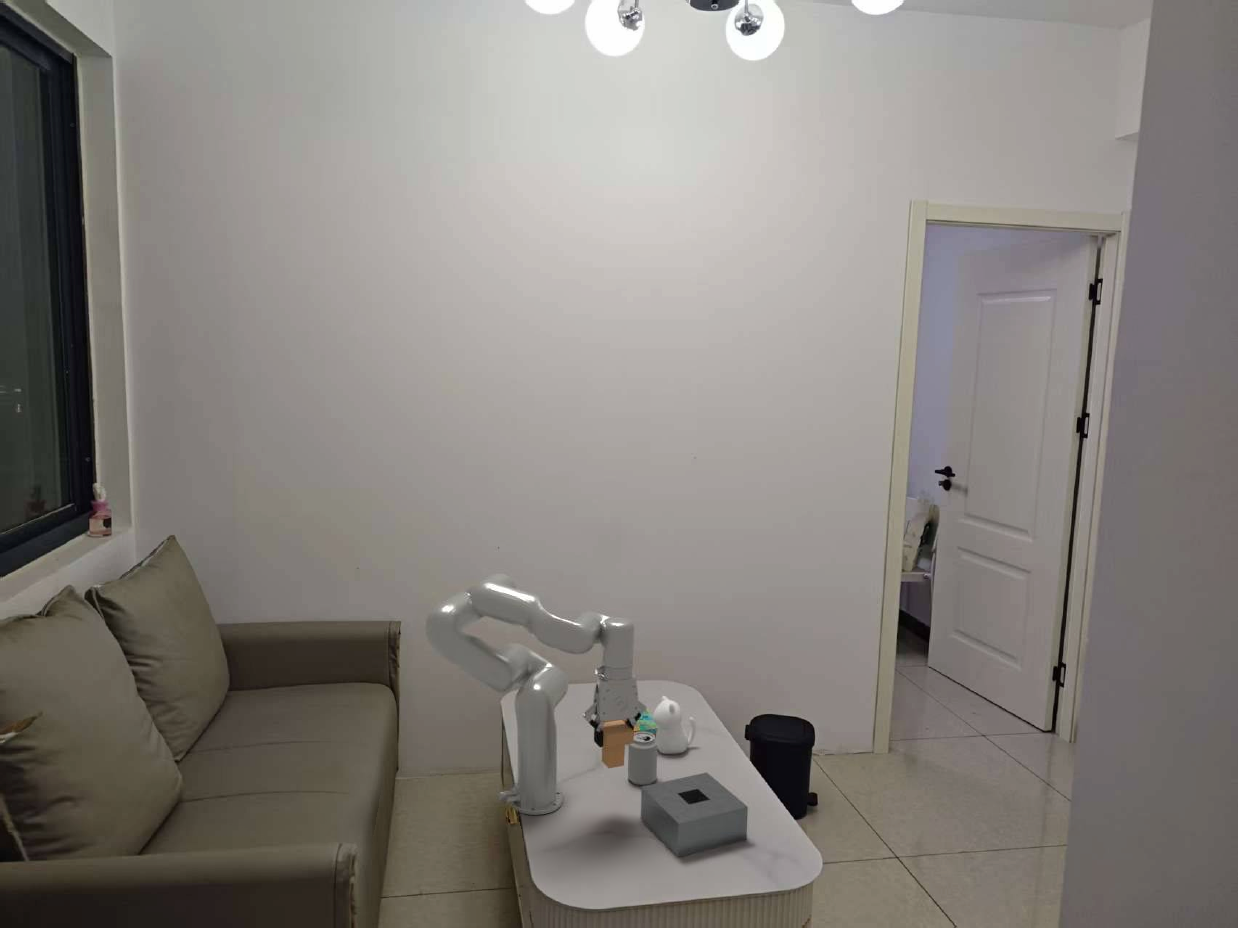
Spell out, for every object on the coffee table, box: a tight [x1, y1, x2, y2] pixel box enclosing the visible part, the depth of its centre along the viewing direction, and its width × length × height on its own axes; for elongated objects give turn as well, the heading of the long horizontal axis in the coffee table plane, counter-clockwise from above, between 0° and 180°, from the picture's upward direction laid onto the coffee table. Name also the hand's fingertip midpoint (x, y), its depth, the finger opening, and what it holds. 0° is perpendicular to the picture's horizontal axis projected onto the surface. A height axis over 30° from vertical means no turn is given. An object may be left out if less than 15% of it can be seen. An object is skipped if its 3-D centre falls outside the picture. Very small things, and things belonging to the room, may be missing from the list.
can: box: [627, 732, 658, 786], centre depth 230 cm, size 8×8×12 cm
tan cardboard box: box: [601, 720, 634, 769], centre depth 211 cm, size 7×7×9 cm
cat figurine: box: [652, 695, 697, 755], centre depth 248 cm, size 9×12×15 cm
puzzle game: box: [622, 708, 659, 739], centre depth 263 cm, size 12×5×20 cm
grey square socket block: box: [640, 772, 749, 859], centre depth 207 cm, size 18×18×8 cm
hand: (613, 741), depth 211 cm, fingers closed on tan cardboard box, 7 cm apart
